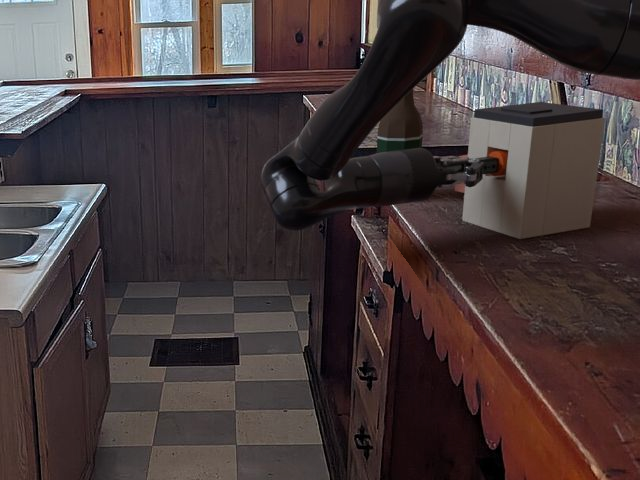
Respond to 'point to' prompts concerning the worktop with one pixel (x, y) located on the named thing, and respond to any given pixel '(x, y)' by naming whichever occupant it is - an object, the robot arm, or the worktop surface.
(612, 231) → the worktop surface
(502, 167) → the power button
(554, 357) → the worktop surface
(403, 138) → the beer bottle
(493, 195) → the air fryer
